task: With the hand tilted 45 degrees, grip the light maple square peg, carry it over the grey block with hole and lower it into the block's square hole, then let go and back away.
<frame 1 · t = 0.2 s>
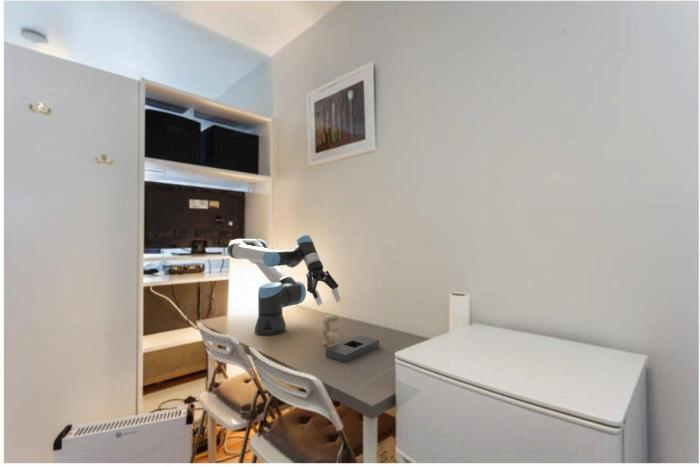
hand: (329, 302, 149), 16 cm above the table, tool tilted 35°, fingers open, 13 cm apart
peg: (330, 344, 137), on the table
grey block with hole: (353, 351, 128), on the table
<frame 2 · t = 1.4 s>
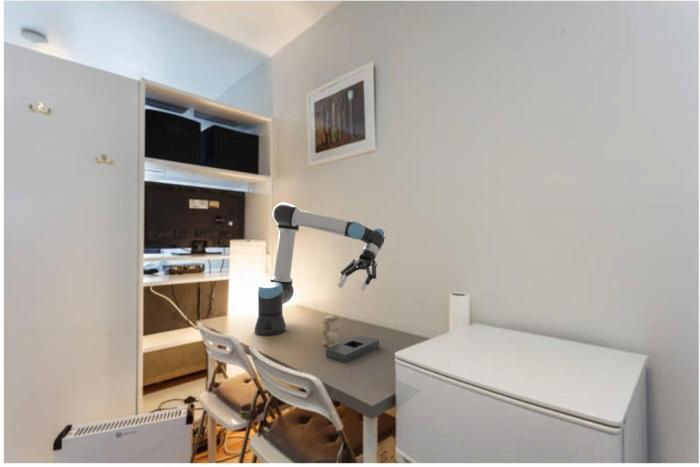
hand: (350, 288, 147), 23 cm above the table, tool tilted 45°, fingers open, 13 cm apart
nothing on the table moved.
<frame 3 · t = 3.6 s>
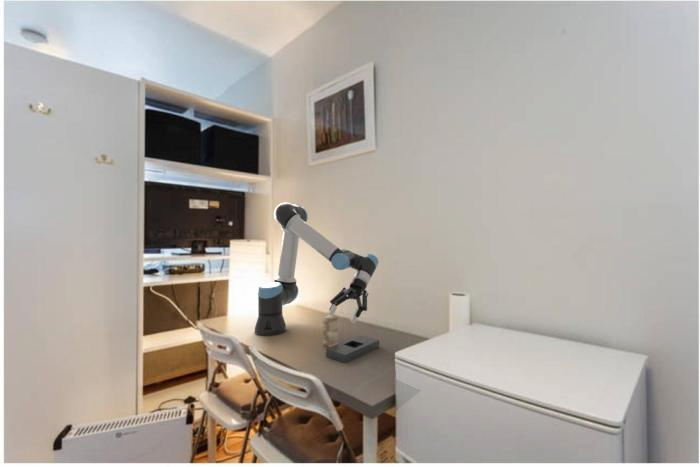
hand: (339, 320, 140), 10 cm above the table, tool tilted 45°, fingers open, 13 cm apart
nothing on the table moved.
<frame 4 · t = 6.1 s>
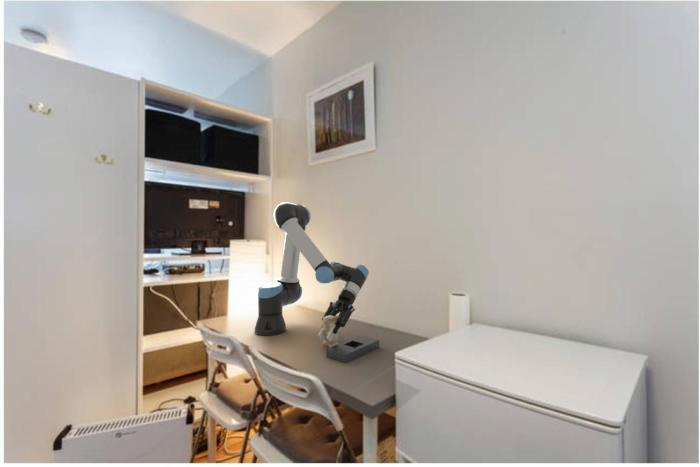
hand: (324, 338, 134), 4 cm above the table, tool tilted 45°, fingers closed on peg, 4 cm apart
peg: (330, 344, 137), on the table, touching gripper
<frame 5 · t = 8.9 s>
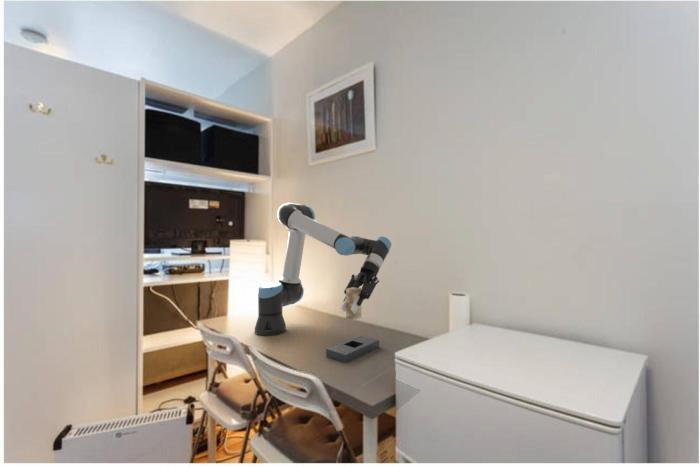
hand: (347, 310, 126), 17 cm above the table, tool tilted 45°, fingers closed on peg, 4 cm apart
peg: (353, 318, 129), point 14 cm above the table, touching gripper
when the fingers open (5 cm above the table, at t = 12.0 s): peg drops 1 cm, resting in grey block with hole.
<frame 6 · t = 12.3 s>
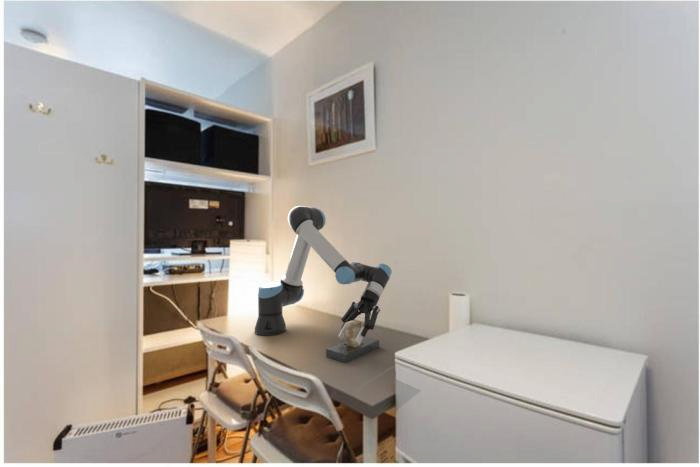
hand: (348, 340, 126), 5 cm above the table, tool tilted 45°, fingers open, 8 cm apart
peg: (353, 351, 129), resting in grey block with hole
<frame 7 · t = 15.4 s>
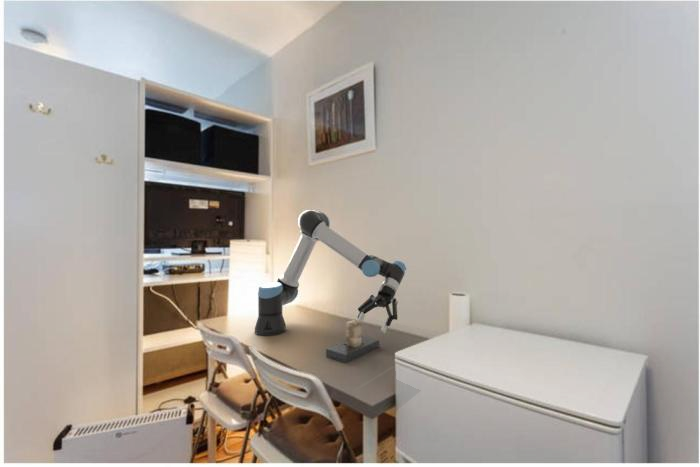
hand: (369, 328, 137), 7 cm above the table, tool tilted 45°, fingers open, 13 cm apart
nothing on the table moved.
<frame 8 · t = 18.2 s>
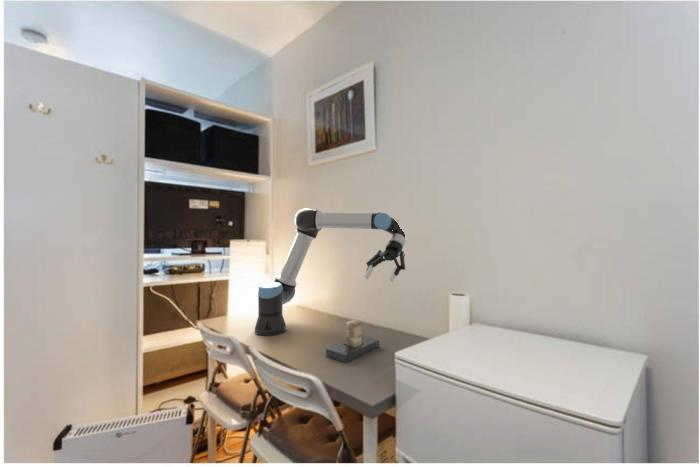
hand: (378, 279, 142), 28 cm above the table, tool tilted 45°, fingers open, 13 cm apart
nothing on the table moved.
at the end: peg 0.0 cm off-centre on the grey block with hole, point 0.0 cm above the grey block with hole's base; peg tilted 0°; the gripper is holding nothing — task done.
